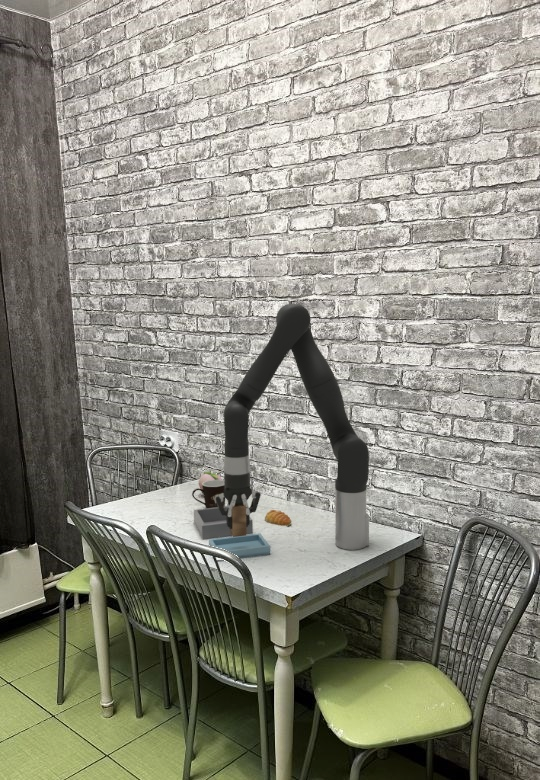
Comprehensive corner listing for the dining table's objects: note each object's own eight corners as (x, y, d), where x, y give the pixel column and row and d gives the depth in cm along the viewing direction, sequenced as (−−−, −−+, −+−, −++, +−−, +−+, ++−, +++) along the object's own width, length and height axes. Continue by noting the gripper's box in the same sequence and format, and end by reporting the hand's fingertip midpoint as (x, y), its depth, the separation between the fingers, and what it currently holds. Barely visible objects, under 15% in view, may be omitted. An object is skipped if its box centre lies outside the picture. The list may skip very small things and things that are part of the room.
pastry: (296, 524, 208) (296, 513, 207) (281, 530, 203) (281, 518, 203) (277, 518, 215) (277, 507, 214) (262, 523, 210) (262, 512, 210)
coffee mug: (229, 507, 227) (228, 479, 225) (225, 514, 218) (224, 486, 217) (197, 506, 228) (196, 479, 226) (192, 514, 219) (191, 486, 218)
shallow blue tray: (260, 541, 193) (260, 533, 193) (270, 554, 183) (270, 546, 183) (209, 547, 189) (208, 539, 189) (216, 561, 179) (215, 553, 178)
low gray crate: (241, 518, 214) (240, 504, 213) (252, 535, 198) (252, 519, 198) (194, 524, 209) (193, 509, 209) (202, 541, 194) (202, 525, 193)
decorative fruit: (194, 496, 240) (193, 470, 238) (209, 491, 246) (208, 466, 245) (211, 501, 234) (210, 474, 232) (226, 495, 240) (226, 470, 239)
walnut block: (243, 530, 188) (242, 501, 186) (246, 535, 184) (246, 505, 183) (230, 532, 187) (229, 502, 185) (233, 537, 183) (232, 507, 182)
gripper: (215, 475, 177) (216, 534, 179) (264, 471, 181) (265, 528, 183) (210, 469, 184) (211, 525, 187) (257, 465, 188) (258, 520, 190)
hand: (238, 526), depth 185 cm, fingers closed on walnut block, 4 cm apart
